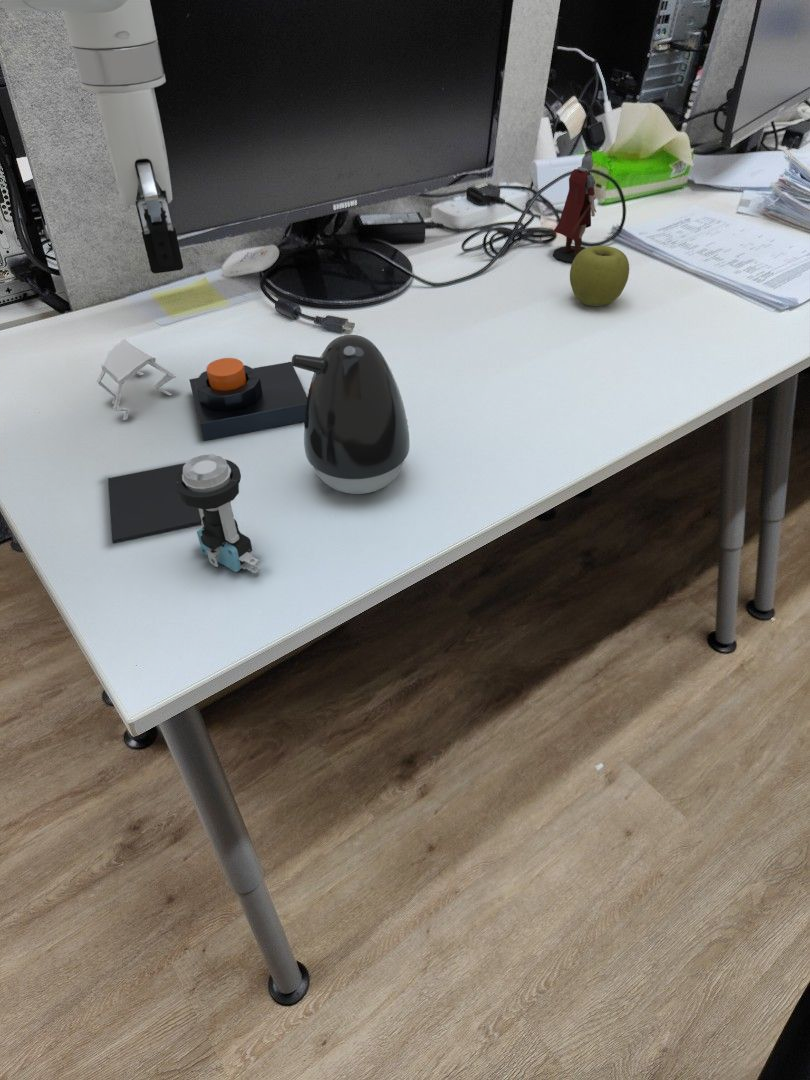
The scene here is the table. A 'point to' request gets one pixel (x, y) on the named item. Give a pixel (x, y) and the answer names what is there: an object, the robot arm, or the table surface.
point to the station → (250, 402)
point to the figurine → (577, 210)
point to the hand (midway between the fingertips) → (163, 253)
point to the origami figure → (128, 369)
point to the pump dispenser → (354, 417)
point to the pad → (148, 504)
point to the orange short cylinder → (226, 374)
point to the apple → (599, 275)
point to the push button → (216, 509)
